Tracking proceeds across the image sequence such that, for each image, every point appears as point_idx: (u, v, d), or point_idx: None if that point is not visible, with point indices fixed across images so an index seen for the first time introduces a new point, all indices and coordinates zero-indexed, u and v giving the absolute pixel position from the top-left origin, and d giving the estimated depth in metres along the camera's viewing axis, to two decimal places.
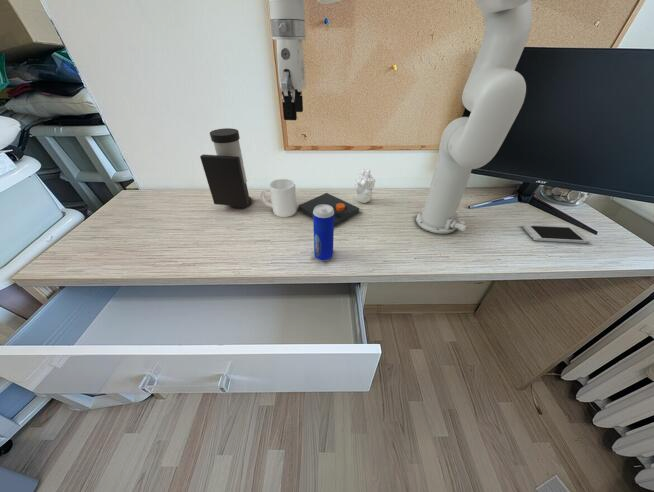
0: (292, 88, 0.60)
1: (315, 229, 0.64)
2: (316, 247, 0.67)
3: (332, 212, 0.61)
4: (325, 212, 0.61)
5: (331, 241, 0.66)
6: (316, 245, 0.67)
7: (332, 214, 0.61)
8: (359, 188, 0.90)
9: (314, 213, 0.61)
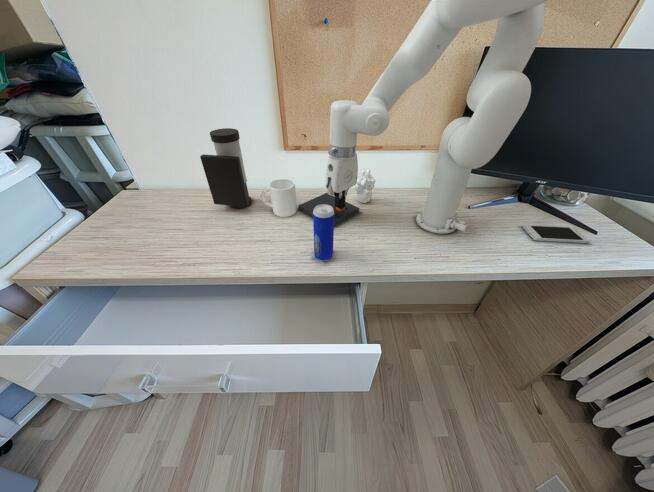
0: None
1: (315, 229, 0.64)
2: (316, 247, 0.67)
3: (332, 212, 0.61)
4: (325, 212, 0.61)
5: (331, 241, 0.66)
6: (316, 245, 0.67)
7: (332, 214, 0.61)
8: (359, 188, 0.90)
9: (314, 213, 0.61)
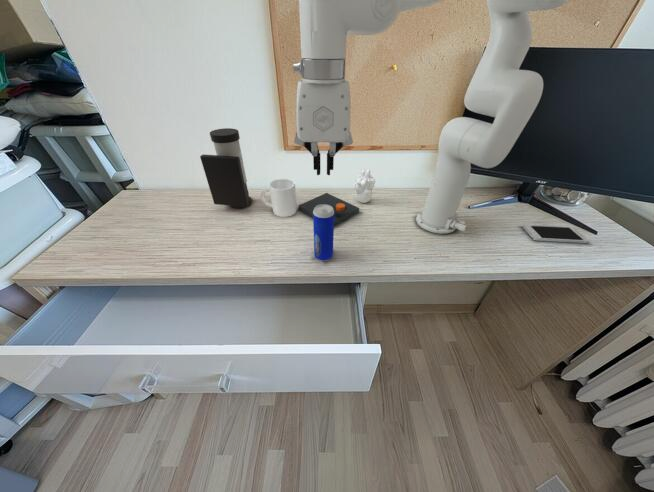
0: (311, 141, 0.51)
1: (315, 229, 0.64)
2: (316, 247, 0.67)
3: (332, 212, 0.61)
4: (325, 212, 0.61)
5: (331, 241, 0.66)
6: (316, 245, 0.67)
7: (332, 214, 0.61)
8: (359, 188, 0.90)
9: (314, 213, 0.61)
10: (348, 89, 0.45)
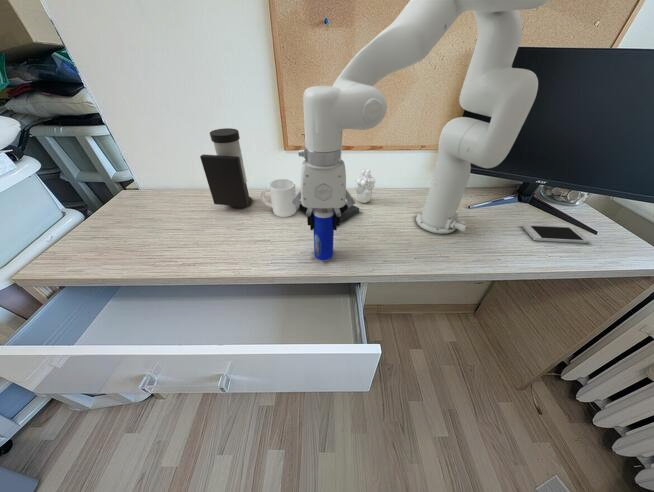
0: None
1: (315, 229, 0.64)
2: (316, 247, 0.67)
3: (332, 212, 0.61)
4: (325, 212, 0.61)
5: (331, 241, 0.66)
6: (316, 245, 0.67)
7: (332, 214, 0.61)
8: (359, 188, 0.90)
9: (314, 213, 0.61)
10: (344, 170, 0.54)
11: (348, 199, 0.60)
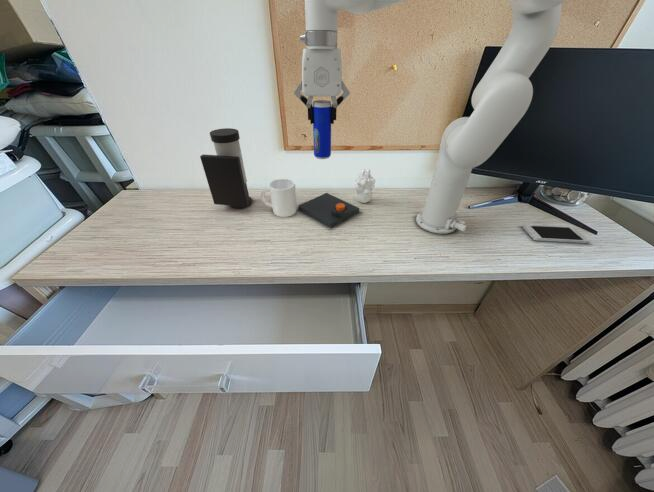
0: None
1: (314, 122, 0.72)
2: (315, 143, 0.75)
3: (329, 103, 0.69)
4: (323, 103, 0.69)
5: (329, 136, 0.74)
6: (315, 141, 0.74)
7: (329, 105, 0.69)
8: (359, 188, 0.90)
9: (313, 105, 0.69)
10: (339, 54, 0.62)
11: (344, 89, 0.67)
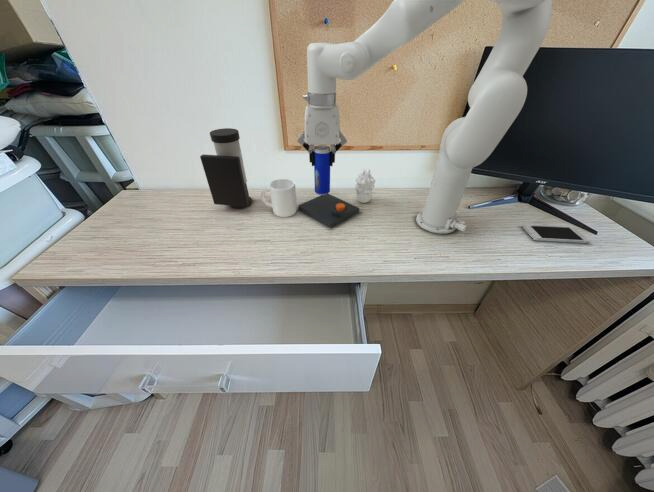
0: None
1: (315, 165, 0.80)
2: (316, 182, 0.84)
3: (329, 150, 0.78)
4: (323, 149, 0.77)
5: (328, 176, 0.83)
6: (316, 180, 0.83)
7: (329, 151, 0.78)
8: (359, 188, 0.90)
9: (315, 150, 0.78)
10: (337, 111, 0.71)
11: (341, 138, 0.76)
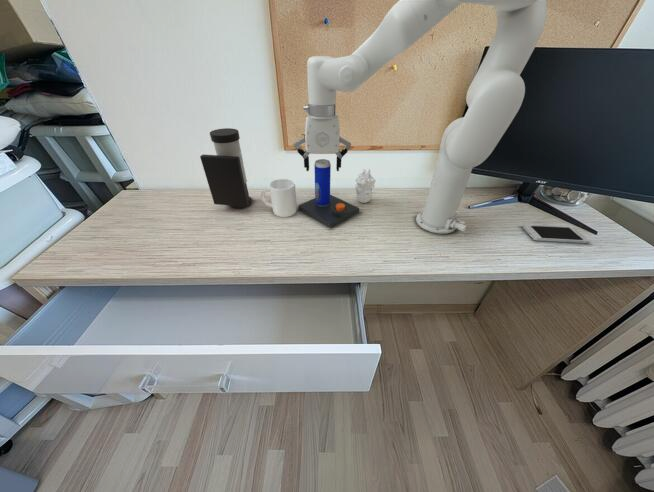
0: None
1: (316, 178, 0.83)
2: (317, 194, 0.86)
3: (329, 164, 0.81)
4: (323, 163, 0.80)
5: (328, 189, 0.85)
6: (317, 192, 0.86)
7: (329, 165, 0.81)
8: (359, 188, 0.90)
9: (315, 164, 0.81)
10: (337, 121, 0.72)
11: (345, 143, 0.77)
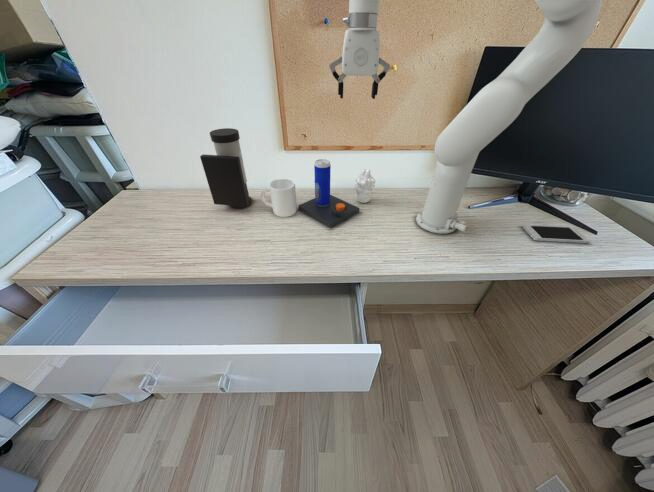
0: None
1: (316, 178, 0.83)
2: (317, 194, 0.86)
3: (329, 164, 0.81)
4: (323, 163, 0.80)
5: (328, 189, 0.85)
6: (317, 192, 0.86)
7: (329, 165, 0.81)
8: (359, 188, 0.90)
9: (315, 164, 0.81)
10: (378, 35, 0.68)
11: (383, 64, 0.73)
